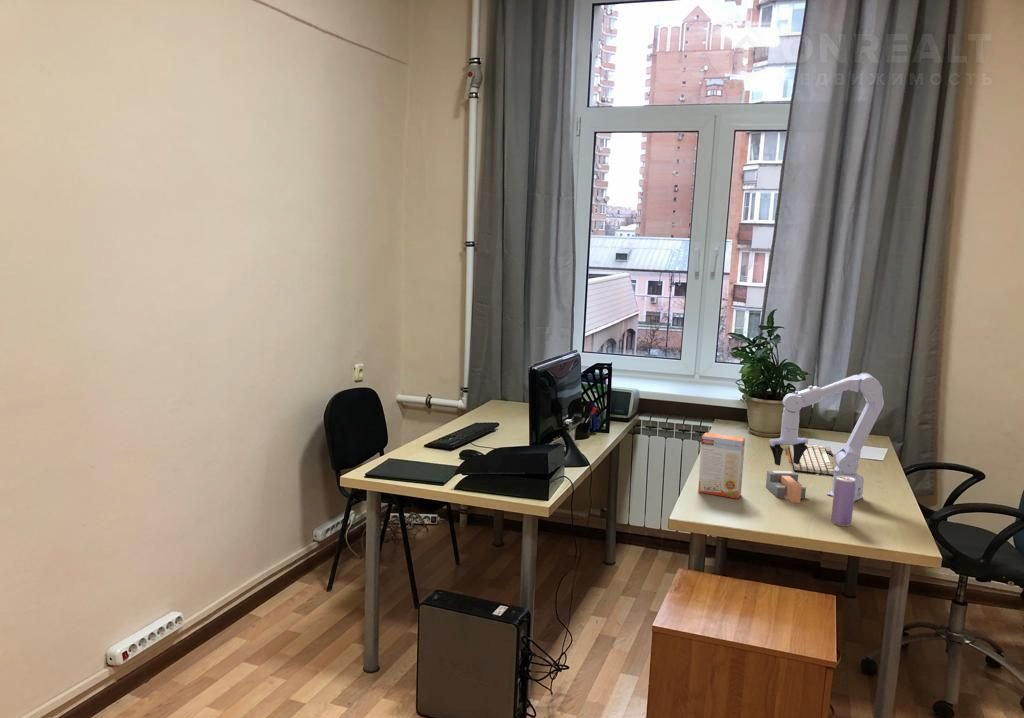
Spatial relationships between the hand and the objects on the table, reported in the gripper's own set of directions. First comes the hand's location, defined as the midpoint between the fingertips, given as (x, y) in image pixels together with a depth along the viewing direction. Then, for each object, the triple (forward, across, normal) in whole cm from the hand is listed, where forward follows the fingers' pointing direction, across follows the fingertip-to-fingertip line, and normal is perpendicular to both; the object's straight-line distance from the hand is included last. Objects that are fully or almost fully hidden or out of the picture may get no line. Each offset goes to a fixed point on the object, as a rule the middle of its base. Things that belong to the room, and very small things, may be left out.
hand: (786, 464), depth 268 cm
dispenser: (+10, +2, +3) cm, 10 cm away
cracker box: (+10, +26, -1) cm, 27 cm away
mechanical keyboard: (+10, -33, -30) cm, 45 cm away
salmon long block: (+10, +2, +7) cm, 12 cm away
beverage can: (+10, +1, +32) cm, 33 cm away
